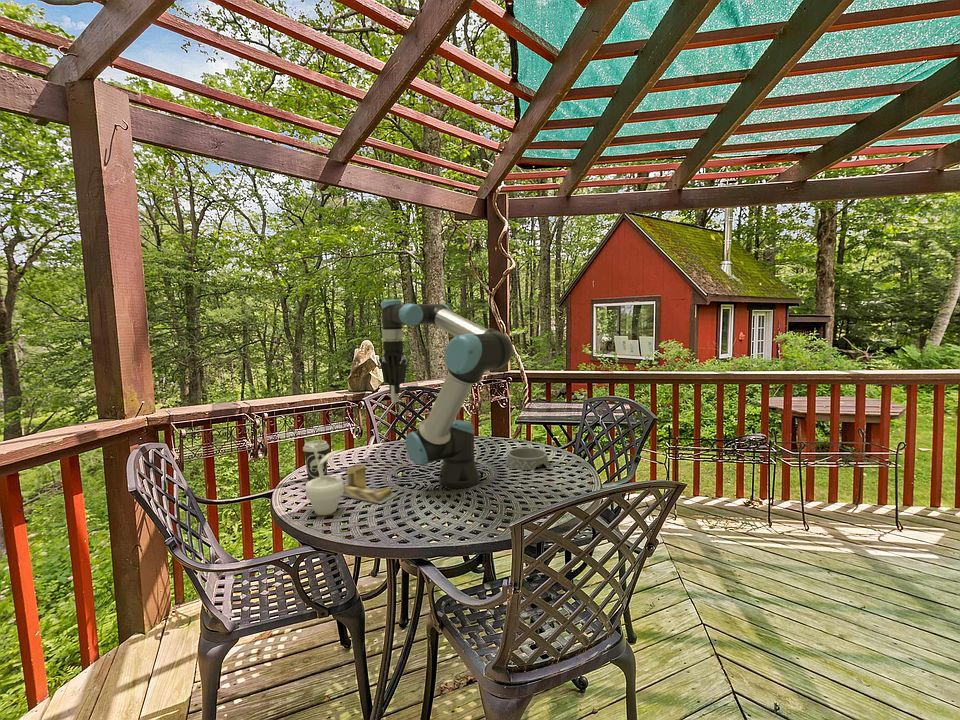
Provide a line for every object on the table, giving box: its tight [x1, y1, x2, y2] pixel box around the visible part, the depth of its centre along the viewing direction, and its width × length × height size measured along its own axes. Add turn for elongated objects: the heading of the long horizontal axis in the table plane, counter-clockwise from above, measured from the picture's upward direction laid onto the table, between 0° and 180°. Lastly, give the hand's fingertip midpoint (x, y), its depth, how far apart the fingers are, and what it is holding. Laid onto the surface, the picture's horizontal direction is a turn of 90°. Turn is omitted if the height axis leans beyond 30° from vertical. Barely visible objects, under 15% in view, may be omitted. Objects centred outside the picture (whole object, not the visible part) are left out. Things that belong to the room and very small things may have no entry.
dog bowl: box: [505, 447, 550, 471], centre depth 200 cm, size 17×18×5 cm
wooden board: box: [342, 487, 397, 505], centre depth 167 cm, size 17×8×1 cm, turn 62°
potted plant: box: [305, 441, 345, 516], centre depth 154 cm, size 13×12×25 cm
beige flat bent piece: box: [343, 484, 392, 502], centre depth 167 cm, size 17×8×2 cm, turn 62°
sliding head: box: [346, 464, 367, 489], centre depth 171 cm, size 4×6×8 cm
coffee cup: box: [302, 439, 330, 482], centre depth 183 cm, size 10×10×15 cm
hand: (395, 401), depth 185 cm, fingers closed
